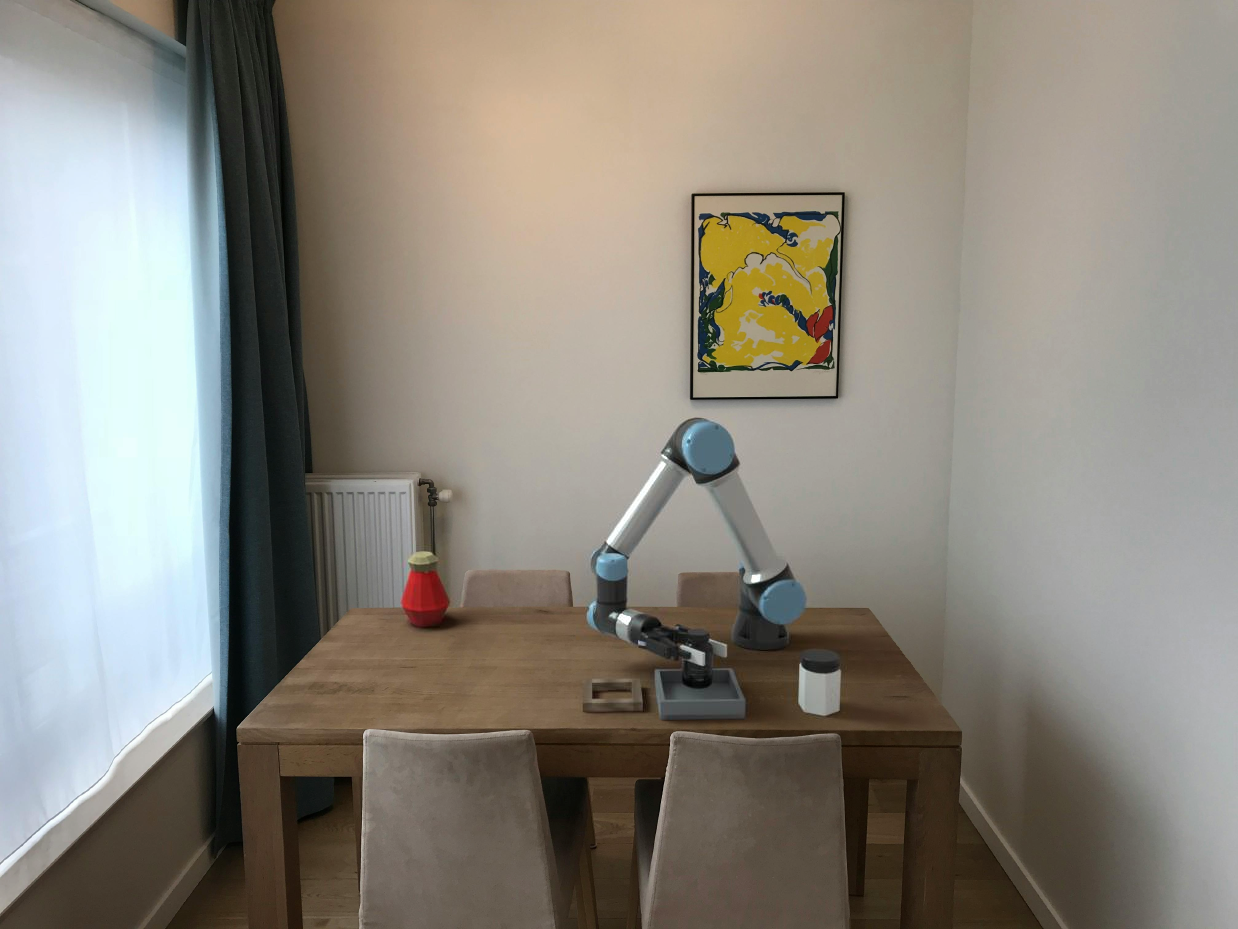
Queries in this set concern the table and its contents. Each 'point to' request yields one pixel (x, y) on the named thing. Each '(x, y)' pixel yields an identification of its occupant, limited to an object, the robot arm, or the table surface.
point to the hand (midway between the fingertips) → (714, 655)
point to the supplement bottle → (693, 672)
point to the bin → (699, 696)
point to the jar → (819, 682)
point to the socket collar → (612, 704)
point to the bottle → (424, 592)
